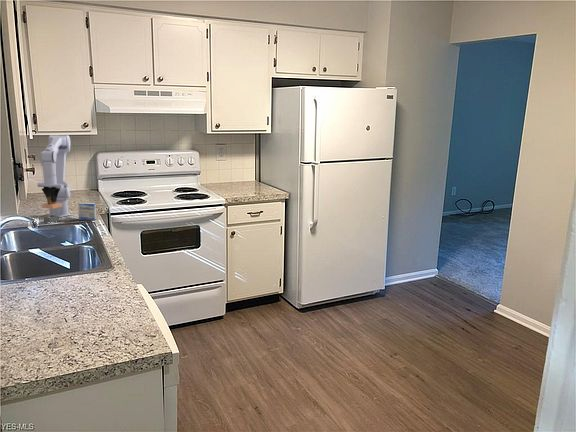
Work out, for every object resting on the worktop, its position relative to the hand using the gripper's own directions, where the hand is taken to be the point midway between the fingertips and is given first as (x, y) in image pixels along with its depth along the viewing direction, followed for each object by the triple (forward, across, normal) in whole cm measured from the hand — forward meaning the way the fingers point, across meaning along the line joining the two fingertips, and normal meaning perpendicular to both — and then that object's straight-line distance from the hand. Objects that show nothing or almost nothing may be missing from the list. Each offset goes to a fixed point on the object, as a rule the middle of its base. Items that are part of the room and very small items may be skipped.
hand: (52, 201), depth 230 cm
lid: (+3, 0, 0) cm, 3 cm away
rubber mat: (+10, +4, +6) cm, 13 cm away
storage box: (+10, -1, -1) cm, 10 cm away
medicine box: (+10, +12, +10) cm, 19 cm away
